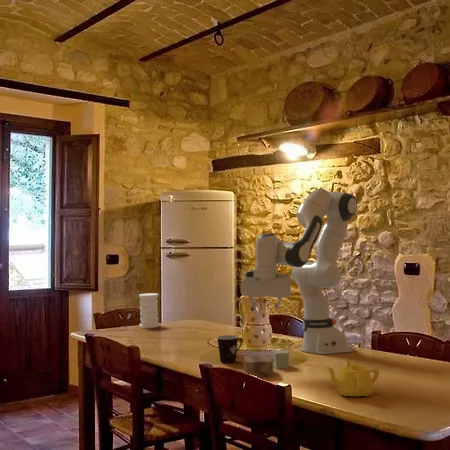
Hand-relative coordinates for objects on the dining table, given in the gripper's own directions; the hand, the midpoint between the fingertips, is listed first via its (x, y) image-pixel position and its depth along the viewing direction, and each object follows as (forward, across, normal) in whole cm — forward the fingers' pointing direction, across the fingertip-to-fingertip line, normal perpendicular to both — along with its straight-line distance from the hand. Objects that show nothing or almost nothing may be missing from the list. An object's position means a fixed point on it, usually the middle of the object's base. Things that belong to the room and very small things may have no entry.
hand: (265, 307), depth 241 cm
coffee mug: (+24, +15, -4) cm, 28 cm away
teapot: (+23, -37, +33) cm, 55 cm away
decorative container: (+24, +82, -76) cm, 115 cm away
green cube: (+23, -7, +2) cm, 24 cm away
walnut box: (+24, -1, +14) cm, 28 cm away
